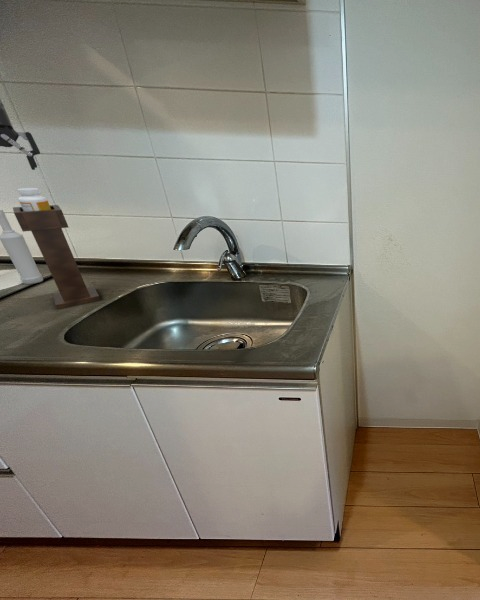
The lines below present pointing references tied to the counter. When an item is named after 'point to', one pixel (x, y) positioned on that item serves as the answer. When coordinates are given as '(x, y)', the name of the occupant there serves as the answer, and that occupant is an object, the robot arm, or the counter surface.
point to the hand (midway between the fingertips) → (12, 169)
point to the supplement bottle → (32, 200)
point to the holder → (57, 255)
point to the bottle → (19, 252)
